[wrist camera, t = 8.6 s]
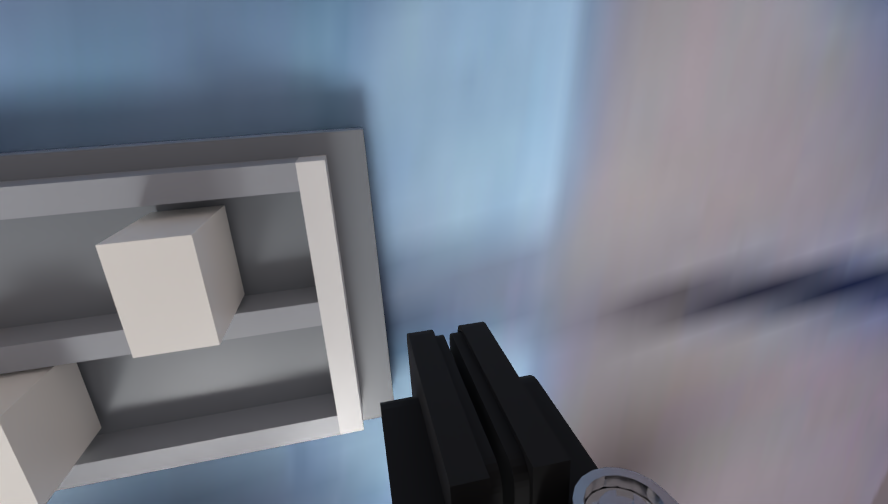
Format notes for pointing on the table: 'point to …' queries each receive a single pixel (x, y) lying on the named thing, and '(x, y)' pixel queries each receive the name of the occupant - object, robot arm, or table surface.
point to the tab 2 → (173, 279)
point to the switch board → (256, 320)
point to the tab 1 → (42, 430)
